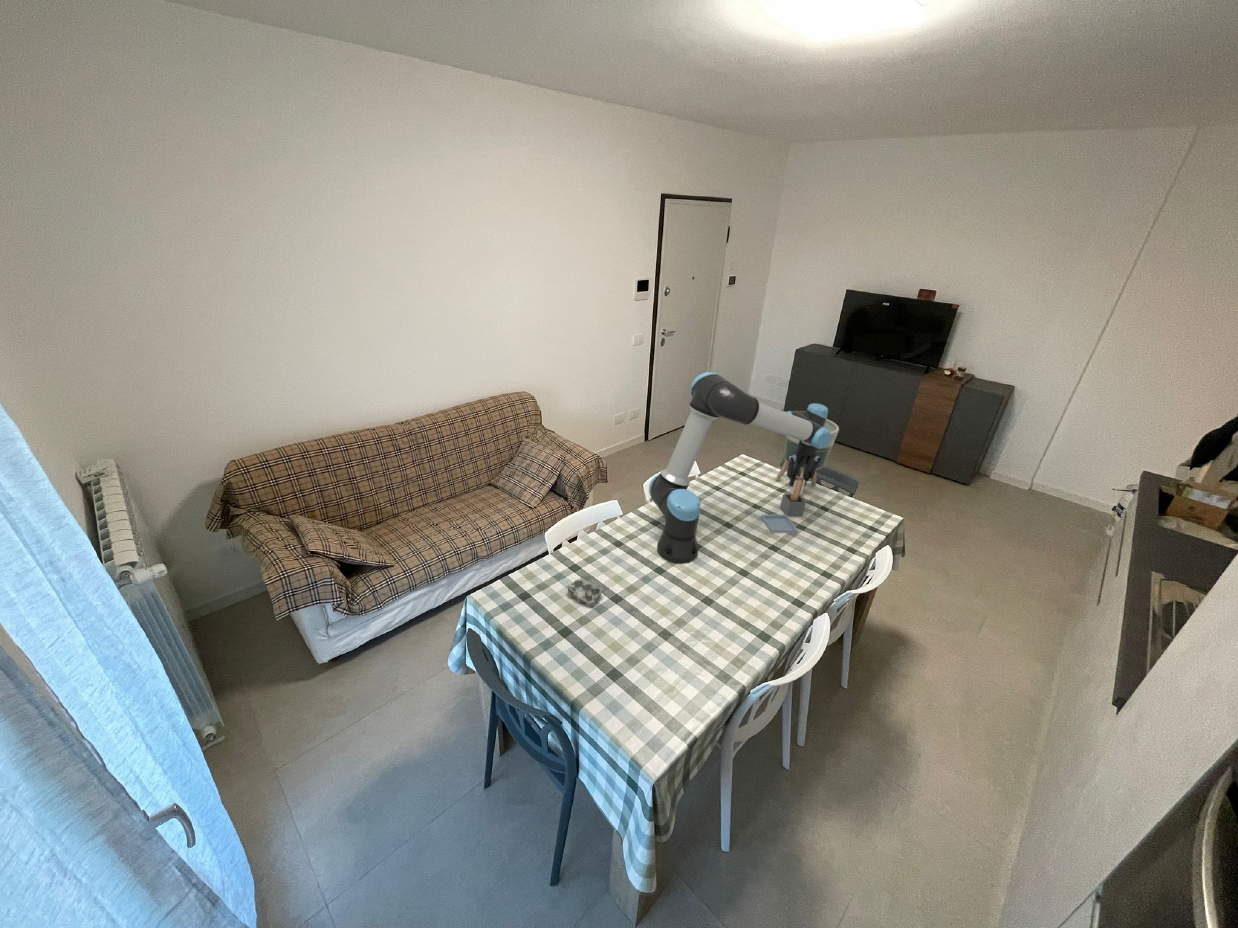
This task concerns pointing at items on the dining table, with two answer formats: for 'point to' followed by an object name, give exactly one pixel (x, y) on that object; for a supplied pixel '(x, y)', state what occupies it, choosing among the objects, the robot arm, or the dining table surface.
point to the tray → (779, 524)
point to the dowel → (796, 490)
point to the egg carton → (589, 591)
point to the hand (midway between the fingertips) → (795, 492)
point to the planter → (823, 453)
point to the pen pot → (792, 506)
